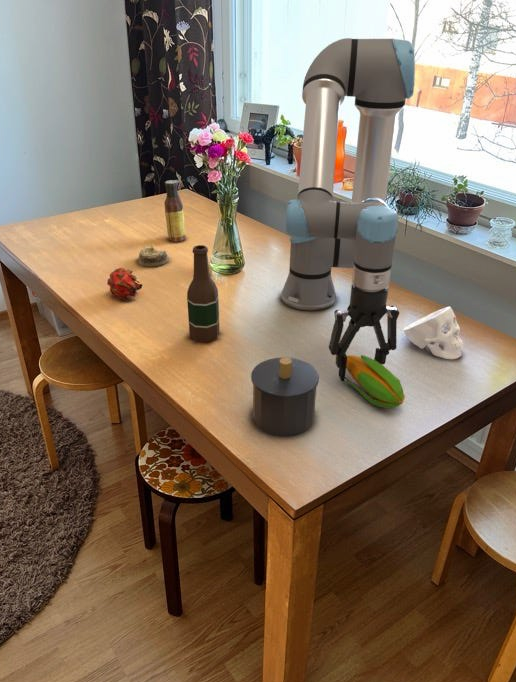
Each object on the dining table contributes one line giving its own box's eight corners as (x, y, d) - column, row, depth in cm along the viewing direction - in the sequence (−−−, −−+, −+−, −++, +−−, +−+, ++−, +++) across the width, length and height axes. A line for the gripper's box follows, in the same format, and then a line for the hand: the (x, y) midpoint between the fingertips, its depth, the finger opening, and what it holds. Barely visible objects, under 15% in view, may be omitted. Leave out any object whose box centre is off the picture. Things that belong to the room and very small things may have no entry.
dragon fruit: (117, 291, 175) (137, 311, 169) (94, 283, 168) (114, 303, 162) (131, 267, 173) (152, 286, 167) (109, 257, 166) (130, 277, 160)
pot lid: (247, 364, 123) (246, 345, 120) (310, 359, 124) (311, 340, 122) (256, 403, 112) (256, 383, 109) (325, 397, 113) (327, 377, 111)
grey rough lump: (156, 271, 185) (153, 255, 181) (132, 264, 189) (128, 249, 186) (175, 258, 191) (173, 242, 188) (151, 252, 195) (149, 237, 192)
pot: (249, 401, 128) (249, 363, 122) (306, 397, 129) (308, 359, 124) (258, 439, 118) (258, 399, 112) (319, 433, 119) (322, 393, 113)
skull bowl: (456, 364, 138) (439, 315, 135) (408, 370, 149) (392, 326, 147) (478, 347, 144) (462, 300, 142) (430, 355, 155) (415, 312, 153)
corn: (389, 390, 118) (332, 345, 132) (382, 420, 122) (327, 373, 137) (417, 382, 121) (358, 338, 136) (409, 412, 126) (353, 366, 140)
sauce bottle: (189, 238, 206) (185, 180, 195) (178, 244, 202) (174, 185, 190) (175, 234, 209) (170, 177, 198) (163, 240, 205) (158, 182, 193)
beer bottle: (225, 333, 152) (223, 244, 138) (208, 346, 147) (204, 256, 133) (201, 325, 155) (196, 238, 142) (183, 338, 150) (176, 249, 136)
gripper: (326, 296, 116) (319, 390, 129) (424, 289, 119) (407, 382, 132) (317, 280, 122) (311, 371, 135) (410, 274, 125) (395, 364, 138)
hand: (358, 376), depth 133 cm, fingers closed on corn, 7 cm apart
